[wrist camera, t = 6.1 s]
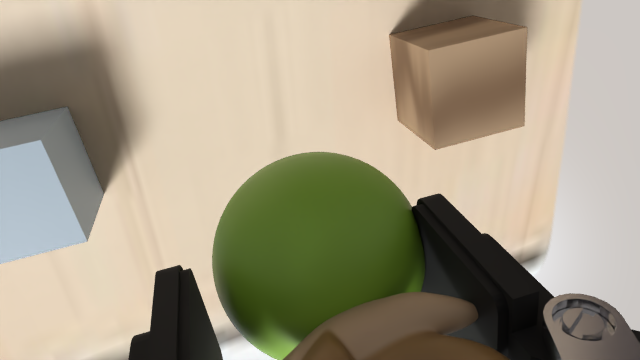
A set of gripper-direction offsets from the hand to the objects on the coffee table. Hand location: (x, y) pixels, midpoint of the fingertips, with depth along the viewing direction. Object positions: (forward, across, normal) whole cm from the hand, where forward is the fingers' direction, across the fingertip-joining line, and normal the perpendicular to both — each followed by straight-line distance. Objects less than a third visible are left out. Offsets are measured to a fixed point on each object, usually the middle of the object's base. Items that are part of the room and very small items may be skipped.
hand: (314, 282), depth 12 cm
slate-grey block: (+16, +11, +1) cm, 19 cm away
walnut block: (+16, -11, +1) cm, 19 cm away
